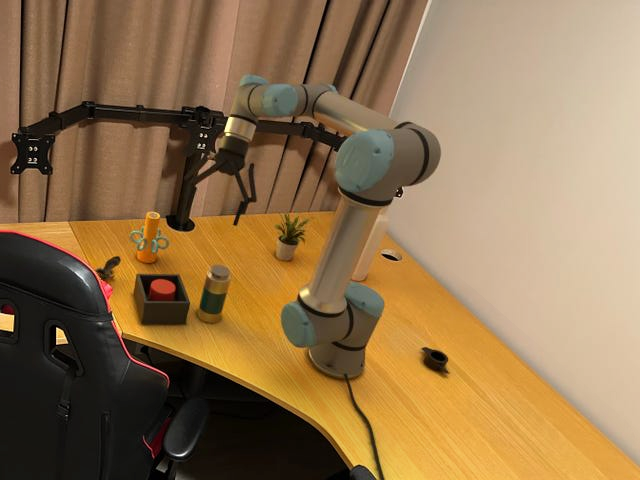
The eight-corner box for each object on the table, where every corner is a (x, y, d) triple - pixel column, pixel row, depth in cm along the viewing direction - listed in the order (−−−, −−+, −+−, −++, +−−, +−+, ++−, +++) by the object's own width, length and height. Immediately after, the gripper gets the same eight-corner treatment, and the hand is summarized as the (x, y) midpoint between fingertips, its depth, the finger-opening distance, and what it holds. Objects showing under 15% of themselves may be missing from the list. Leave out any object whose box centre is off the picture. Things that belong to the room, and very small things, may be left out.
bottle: (364, 270, 212) (399, 187, 193) (367, 283, 206) (404, 199, 187) (340, 265, 212) (373, 182, 192) (343, 278, 206) (377, 194, 187)
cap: (173, 314, 176) (177, 293, 172) (149, 314, 175) (153, 293, 170) (168, 299, 181) (172, 279, 177) (145, 299, 180) (149, 278, 175)
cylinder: (123, 249, 199) (129, 206, 190) (153, 246, 203) (160, 203, 194) (138, 270, 191) (144, 227, 182) (169, 267, 196) (177, 224, 186)
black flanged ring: (421, 371, 175) (425, 363, 173) (418, 349, 183) (423, 342, 181) (448, 378, 175) (453, 371, 173) (445, 356, 182) (449, 349, 180)
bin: (185, 324, 175) (190, 303, 170) (141, 324, 172) (144, 302, 167) (175, 294, 185) (179, 274, 180) (133, 294, 182) (136, 273, 177)
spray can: (222, 323, 178) (235, 277, 168) (200, 323, 177) (211, 277, 167) (216, 308, 183) (228, 263, 173) (194, 308, 181) (205, 263, 171)
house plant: (254, 259, 207) (267, 215, 196) (262, 240, 217) (275, 197, 206) (297, 272, 205) (312, 228, 194) (303, 252, 215) (318, 209, 204)
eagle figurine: (121, 285, 182) (126, 264, 188) (109, 268, 178) (114, 246, 183) (98, 291, 185) (104, 270, 191) (86, 274, 181) (92, 253, 186)
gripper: (283, 154, 167) (256, 232, 172) (195, 128, 172) (171, 205, 176) (281, 149, 160) (253, 231, 164) (189, 122, 165) (164, 202, 169)
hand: (210, 218), depth 170 cm, fingers open, 13 cm apart
